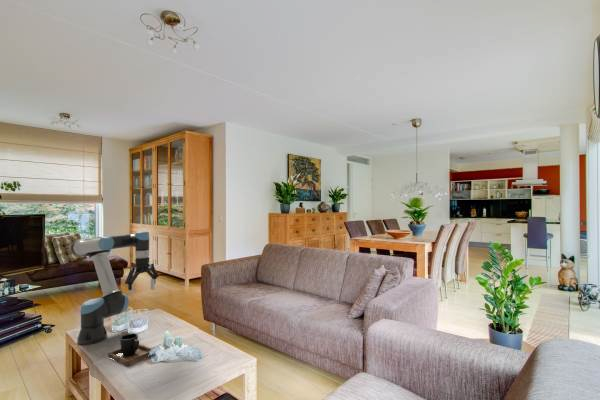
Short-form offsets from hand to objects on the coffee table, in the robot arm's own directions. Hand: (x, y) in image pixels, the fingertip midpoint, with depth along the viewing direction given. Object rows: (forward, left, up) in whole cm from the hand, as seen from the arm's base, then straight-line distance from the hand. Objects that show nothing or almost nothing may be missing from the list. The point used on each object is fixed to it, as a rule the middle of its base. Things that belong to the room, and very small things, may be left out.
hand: (142, 292), depth 189 cm
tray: (+13, -15, -29) cm, 35 cm away
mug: (+13, -15, -28) cm, 35 cm away
